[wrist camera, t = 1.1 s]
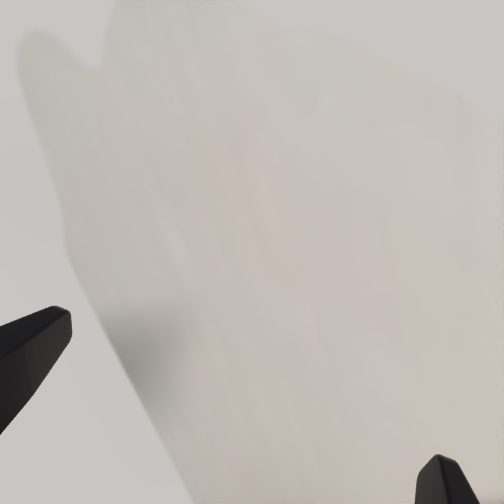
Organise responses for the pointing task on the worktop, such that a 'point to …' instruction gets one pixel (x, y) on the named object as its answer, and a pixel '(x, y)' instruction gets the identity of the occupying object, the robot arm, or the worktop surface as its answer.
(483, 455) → the worktop surface
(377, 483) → the worktop surface
